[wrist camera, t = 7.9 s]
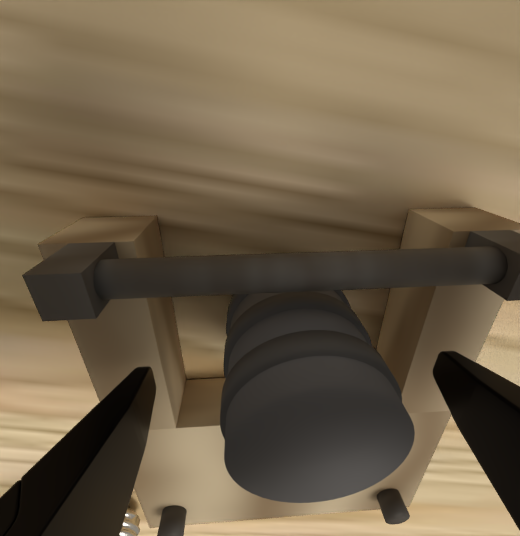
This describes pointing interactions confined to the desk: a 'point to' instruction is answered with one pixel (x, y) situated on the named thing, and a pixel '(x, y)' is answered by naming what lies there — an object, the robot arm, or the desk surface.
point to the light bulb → (130, 524)
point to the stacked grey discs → (307, 399)
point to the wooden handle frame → (270, 281)
